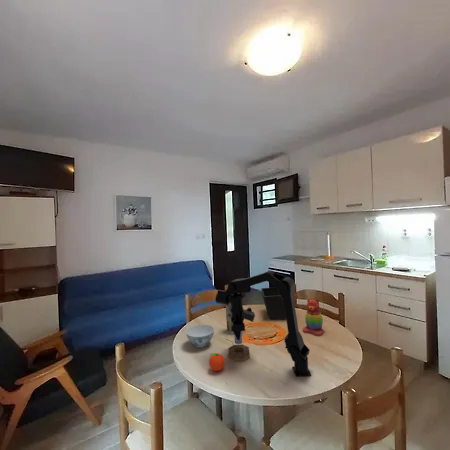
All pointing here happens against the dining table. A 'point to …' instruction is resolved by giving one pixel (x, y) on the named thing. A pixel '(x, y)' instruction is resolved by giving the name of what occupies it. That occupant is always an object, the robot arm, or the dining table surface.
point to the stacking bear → (313, 319)
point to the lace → (230, 340)
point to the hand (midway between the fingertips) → (238, 337)
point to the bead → (238, 353)
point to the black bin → (273, 303)
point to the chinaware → (200, 334)
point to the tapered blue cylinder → (238, 340)
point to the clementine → (216, 362)
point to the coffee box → (229, 318)
